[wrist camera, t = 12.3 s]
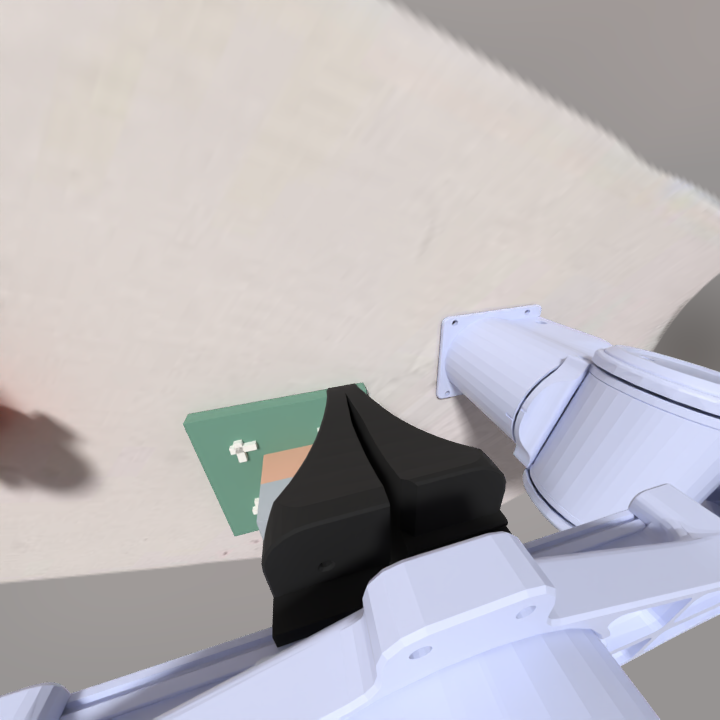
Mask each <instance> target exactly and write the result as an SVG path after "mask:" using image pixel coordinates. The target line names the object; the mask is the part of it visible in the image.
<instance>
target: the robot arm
mask: <svg viewBox="0 0 720 720" xmlns="http://www.w3.org/2000/svg"><path fill="white" fill-rule="evenodd" d="M525 311H526V313H525ZM540 313H541V306H540V305H528V306H521V307H514V308H507V309H500V310H493V311H486V312H479V313H472V314H465V315H458V316H451V317H446V318H445V319H444V320H443V321H442V328H441V340H440V353H439V365H438V378H437V390H436V395H437V396H438V397H439V398H440V399H442V398H447V397H452V396H457V395H462V394H464V395H465V396H466V397H467V398H468V399H469V400H470V401H471V402H472V403H474V404H475V405H476V406H477V407H478V408H479V409H480V410H481V411H482V412H483V413H484V414H485V415H486V416H487V417H488V418H489V419H490V420H492V421H493V422H494V423H495V424H496V425H497V426H498V427H499V428H500V429H501V430H502V431H503V432H504V433H505V434H506V435H507V436H508V437H510V438H511V439H512V440H513V441H514V442H515V443H516V448H515V451H514V453H513V455H514V456H515V457H516V458H517V459H518V460H519V461H520V462H521V463H522V464H523V465H524V466H525V467H526V469H525V470H524V473H523V484H524V487H525V489H526V491H527V493H528V495H529V497H530V498H531V500H532V502H533V503H534V504H535V505H536V507H537V508H538V510H539V511H540V512H541V513H542V514H543V516H544V517H545V518H546V519H547V520H548V521H549V522H550V523H551V524H552V525H553V526H554V527H555V528H556V529H558V530H559V531H560V532H557V533H554V534H551V535H548V536H545V537H542V538H539V539H536V540H533V541H530V542H528V543H524V544H522V543H521V541H520V540H519V539H518V537H516V536H514V535H512V534H511V532H510V531H509V529H508V528H507V527H506V525H507V524H508V521H507V519H506V517H505V516H504V515H503V513H502V512H501V511H500V507H501V503H502V499H503V496H504V492H505V485H506V480H505V477H504V474H503V473H502V472H501V471H500V470H499V469H498V468H497V466H496V465H495V464H494V463H493V462H492V460H491V459H490V458H489V457H488V456H487V455H486V454H485V453H484V452H483V451H482V450H481V449H477V448H474V447H470V446H466V445H462V444H458V443H455V442H452V441H449V440H446V439H443V438H440V437H437V436H435V435H432V434H429V433H427V432H425V431H423V430H420V429H418V428H416V427H414V426H412V425H410V424H408V423H406V422H404V421H403V420H401V419H399V418H397V417H396V416H394V415H393V414H391V413H390V412H388V411H387V410H386V409H384V408H383V407H381V406H380V405H379V404H378V403H376V402H375V401H374V400H373V399H371V398H370V397H369V396H368V395H367V394H366V393H365V392H364V391H362V390H361V389H360V388H359V387H358V386H357V385H356V384H350V385H344V386H339V387H333V388H328V390H327V391H326V393H327V401H326V407H325V411H324V416H323V419H322V422H321V425H320V428H319V431H318V434H317V436H316V438H315V441H314V443H313V445H312V447H311V449H310V451H309V453H308V455H307V456H306V458H305V460H304V462H303V463H302V465H301V466H300V468H299V469H298V471H297V472H296V474H295V475H294V477H293V478H292V480H291V481H290V482H289V484H288V485H287V486H286V487H285V489H284V490H283V491H282V492H281V493H280V495H279V496H278V497H277V498H276V500H275V501H274V502H273V505H272V508H271V511H270V514H269V518H268V522H267V525H266V530H265V535H264V541H263V552H262V569H263V573H264V575H265V578H266V580H267V583H268V585H269V587H270V590H271V592H272V594H273V597H274V599H273V600H274V601H273V625H272V627H270V628H267V629H264V630H261V631H258V632H255V633H252V634H249V635H246V636H243V637H240V638H237V639H234V640H231V641H228V642H225V643H222V644H219V645H215V646H212V647H209V648H206V649H204V650H201V651H197V652H194V653H191V654H188V655H185V656H183V657H179V658H176V659H173V660H171V661H167V662H164V663H161V664H158V665H155V666H152V667H149V668H146V669H143V670H140V671H137V672H134V673H131V674H128V675H125V676H122V677H119V678H116V679H113V680H110V681H107V682H104V683H101V684H98V685H95V686H92V687H88V688H85V689H83V690H79V691H76V692H73V693H70V692H69V691H68V690H67V689H66V687H64V686H63V685H61V684H58V683H55V682H47V683H40V684H35V685H32V686H29V687H26V688H23V689H19V690H16V691H13V692H10V693H7V694H4V695H0V720H660V718H659V717H658V716H657V714H656V713H655V712H654V710H653V709H652V708H651V706H650V705H649V704H648V702H647V701H646V700H645V699H644V697H643V696H642V694H641V693H640V692H639V690H638V689H637V688H636V687H635V685H634V684H633V683H632V681H631V680H630V679H629V677H628V676H627V675H626V673H625V672H624V671H623V669H622V668H621V667H620V666H622V665H623V664H625V663H627V662H629V661H631V660H633V659H634V658H636V657H638V656H640V655H642V654H644V653H646V652H647V651H649V650H651V649H653V648H655V647H657V646H659V645H660V644H662V643H664V642H666V641H668V640H670V639H672V638H674V637H676V636H677V635H679V634H681V633H683V632H685V631H687V630H689V629H691V628H693V627H695V626H697V625H699V624H701V623H703V622H705V621H707V620H709V619H711V618H713V617H715V616H718V615H720V372H717V371H715V370H711V369H708V368H705V367H702V366H699V365H696V364H692V363H689V362H686V361H683V360H680V359H676V358H673V357H669V356H666V355H662V354H658V353H655V352H651V351H647V350H643V349H639V348H634V347H629V346H623V345H615V346H613V345H611V344H610V343H609V342H607V341H605V340H603V339H601V338H599V337H596V336H593V335H590V334H587V333H585V332H582V331H579V330H576V329H573V328H570V327H568V326H565V325H562V324H559V323H556V322H553V321H550V320H548V319H545V318H542V317H540ZM454 320H455V323H454V324H453V325H452V322H453V321H454ZM447 391H448V392H447ZM446 392H447V393H446Z"/></svg>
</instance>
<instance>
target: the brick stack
mask: <svg viewBox="0 0 720 720" xmlns="http://www.w3.org/2000/svg"><path fill="white" fill-rule="evenodd" d="M312 445H313V444H312ZM312 445H308V446H303V447H298V448H294V449H289V450H284V451H280V452H275V453H270V454H266V455H264V457H263V466H262V476H261V485H260V494H259V504H258V513H257V525H258V528H259V531H260V533H261V536H262V539H263V541H264V535H265V530H266V525H267V522H268V518H269V514H270V511H271V508H272V505H273V502H274V501H275V500H276V498H277V497H278V496H279V495H280V493H281V492H282V491H283V490H284V489H285V487H286V486H287V485H288V484H289V482H290V481H291V480H292V478H293V477H294V475H295V474H296V472H297V471H298V469H299V468H300V466H301V465H302V463H303V462H304V460H305V458H306V456H307V455H308V453H309V451H310V449H311V447H312Z"/></svg>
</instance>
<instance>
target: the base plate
mask: <svg viewBox="0 0 720 720" xmlns="http://www.w3.org/2000/svg"><path fill="white" fill-rule="evenodd" d="M356 385H357V386H358V387H359V388H360V389H361V390H362V391H364V392H365V393H366V394H367V390H366V388H365V386H364V384H363V383H358V384H356ZM327 390H328V389H325V390H319V391H314V392H308V393H303V394H297V395H292V396H286V397H281V398H275V399H270V400H264V401H258V402H253V403H247V404H242V405H236V406H231V407H225V408H220V409H214V410H209V411H203V412H198V413H192V414H188V416H187V418H186V419H185V421H184V423H183V425H184V427H185V429H186V432H187V434H188V436H189V438H190V440H191V442H192V445H193V447H194V449H195V451H196V453H197V456H198V458H199V460H200V462H201V464H202V466H203V469H204V471H205V473H206V475H207V477H208V479H209V482H210V484H211V486H212V488H213V490H214V492H215V495H216V497H217V499H218V501H219V503H220V506H221V508H222V510H223V512H224V514H225V516H226V519H227V521H228V523H229V525H230V527H231V529H232V532H233V534H234V536H238V535H242V534H246V533H250V532H254V531H257V530H259V528H258V525H257V513H258V504H259V494H260V485H261V476H262V466H263V457H264V455H266V454H270V453H275V452H280V451H284V450H289V449H294V448H298V447H303V446H308V445H312V444H313V443H314V441H315V438H316V436H317V434H318V431H319V428H320V425H321V422H322V419H323V416H324V411H325V407H326V401H327V393H326V391H327Z"/></svg>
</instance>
